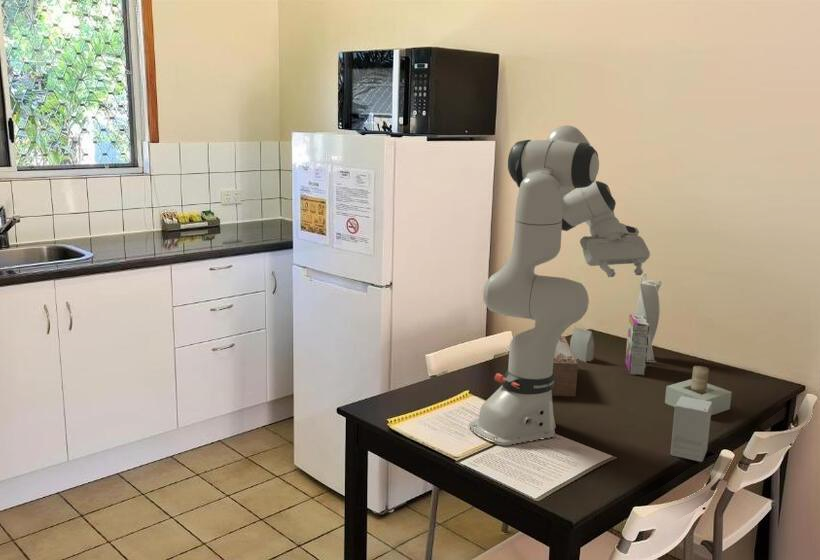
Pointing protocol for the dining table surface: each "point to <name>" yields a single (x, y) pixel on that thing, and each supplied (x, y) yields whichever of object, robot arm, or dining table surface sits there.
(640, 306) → the skyscraper
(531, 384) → the robot arm
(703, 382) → the peg
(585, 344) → the grey bevelled box
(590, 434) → the dining table surface
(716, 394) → the socket block
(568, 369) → the tissue box cover
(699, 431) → the supplement box
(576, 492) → the dining table surface
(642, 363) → the candy bar box
